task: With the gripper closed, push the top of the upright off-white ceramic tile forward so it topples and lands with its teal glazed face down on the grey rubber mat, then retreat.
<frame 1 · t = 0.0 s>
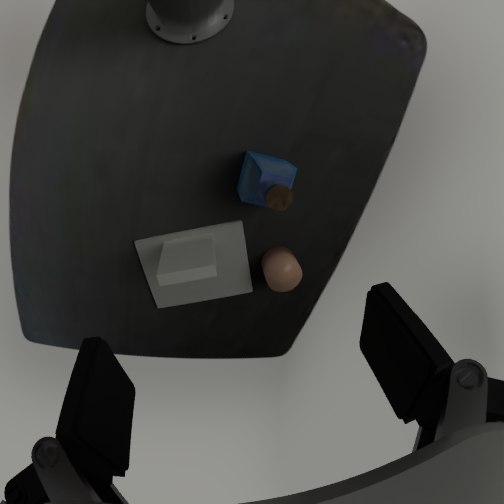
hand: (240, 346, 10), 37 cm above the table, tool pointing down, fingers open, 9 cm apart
mat: (195, 266, 50), on the table
perfume bottle: (260, 173, 44), on the table
brown rounded cylinder: (277, 261, 52), on the table
tile: (189, 242, 47), point 1 cm above the table, touching mat
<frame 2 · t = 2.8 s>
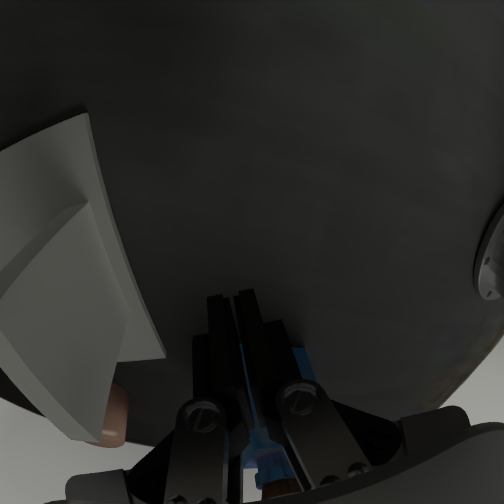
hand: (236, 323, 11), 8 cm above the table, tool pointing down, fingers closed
mat: (43, 270, 17), on the table
perfume bottle: (258, 367, 24), on the table
brown rounded cylinder: (101, 392, 24), on the table
tile: (96, 264, 17), point 1 cm above the table, touching mat
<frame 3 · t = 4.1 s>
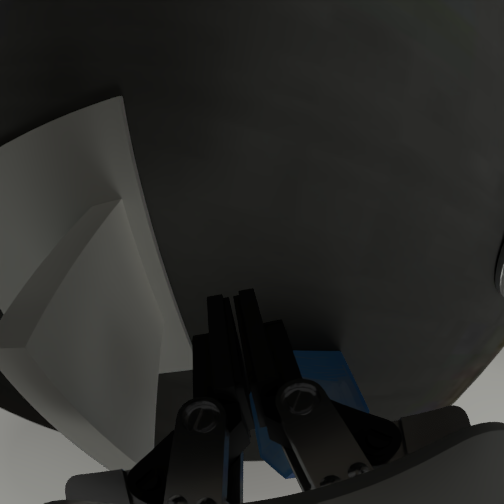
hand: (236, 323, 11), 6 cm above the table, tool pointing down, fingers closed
mat: (61, 277, 15), on the table
perfume bottle: (293, 373, 23), on the table
tile: (127, 269, 15), point 1 cm above the table, touching mat
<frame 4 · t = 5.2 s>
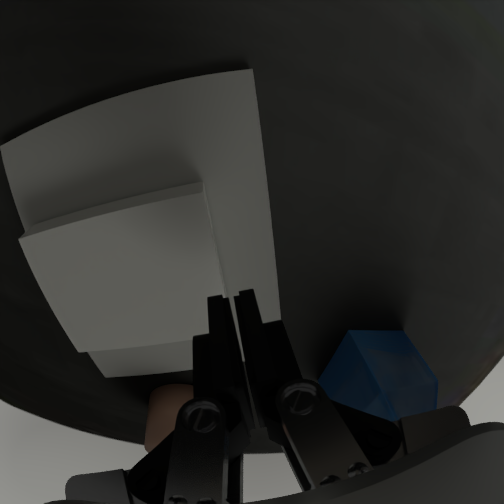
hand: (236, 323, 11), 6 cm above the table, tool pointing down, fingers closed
mat: (148, 260, 16), on the table
perfume bottle: (360, 354, 23), on the table
brown rounded cylinder: (183, 402, 23), on the table
tile: (218, 262, 15), point 2 cm above the table, tilted 90°, touching mat
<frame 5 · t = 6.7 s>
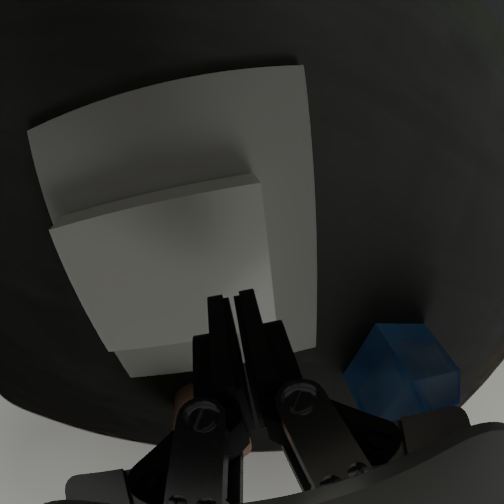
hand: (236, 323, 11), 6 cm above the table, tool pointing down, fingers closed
mat: (188, 253, 16), on the table
perfume bottle: (383, 348, 23), on the table
brown rounded cylinder: (209, 400, 23), on the table
tile: (266, 254, 15), point 2 cm above the table, tilted 90°, touching mat
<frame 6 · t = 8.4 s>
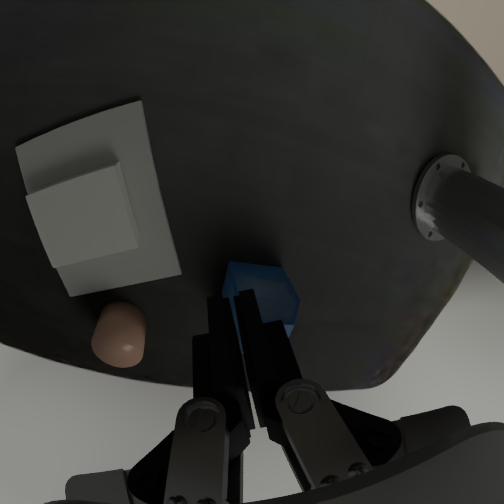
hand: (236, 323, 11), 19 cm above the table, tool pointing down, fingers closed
mat: (95, 209, 26), on the table
perfume bottle: (249, 286, 34), on the table
brown rounded cylinder: (123, 321, 33), on the table
tile: (128, 204, 25), point 2 cm above the table, tilted 90°, touching mat
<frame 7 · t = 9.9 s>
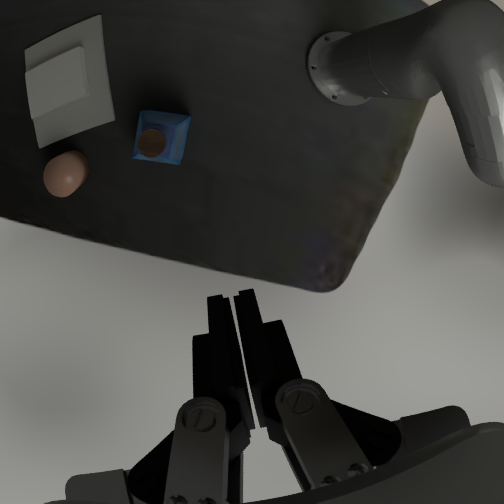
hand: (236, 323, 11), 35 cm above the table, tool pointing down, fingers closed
mat: (66, 80, 31), on the table
perfume bottle: (166, 133, 39), on the table
brown rounded cylinder: (72, 168, 38), on the table
tile: (84, 70, 30), point 2 cm above the table, tilted 90°, touching mat
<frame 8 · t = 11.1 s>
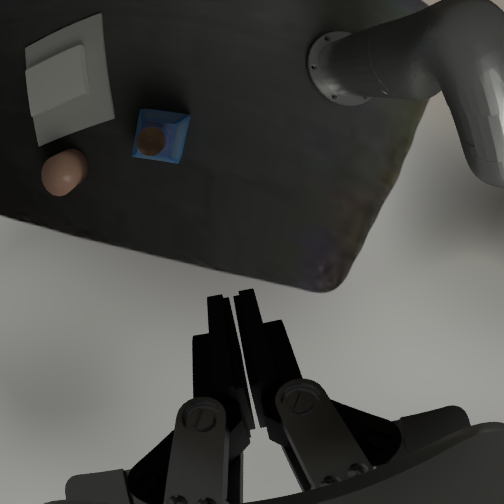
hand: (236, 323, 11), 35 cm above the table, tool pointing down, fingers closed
mat: (66, 78, 31), on the table
perfume bottle: (165, 131, 38), on the table
brown rounded cylinder: (71, 167, 38), on the table
tile: (84, 68, 30), point 2 cm above the table, tilted 90°, touching mat
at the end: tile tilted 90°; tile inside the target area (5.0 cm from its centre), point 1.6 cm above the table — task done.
